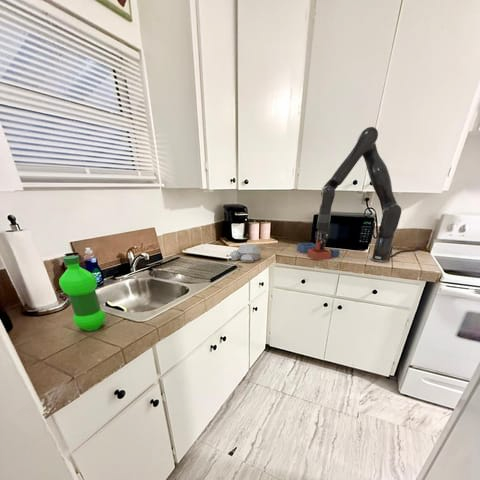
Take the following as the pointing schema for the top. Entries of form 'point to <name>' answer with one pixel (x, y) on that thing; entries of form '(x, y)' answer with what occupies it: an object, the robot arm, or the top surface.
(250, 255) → the rock
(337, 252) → the blue block
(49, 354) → the top surface
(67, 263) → the plastic bottle
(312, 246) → the blue bin
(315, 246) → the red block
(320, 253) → the red bin
